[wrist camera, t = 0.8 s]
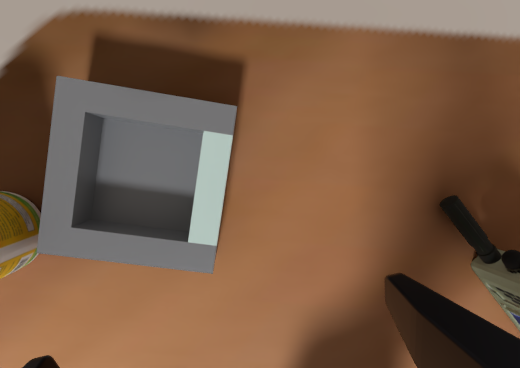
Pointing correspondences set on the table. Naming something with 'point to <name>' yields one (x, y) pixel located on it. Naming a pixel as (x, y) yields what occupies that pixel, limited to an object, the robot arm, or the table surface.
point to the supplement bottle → (17, 232)
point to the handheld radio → (489, 260)
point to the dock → (135, 176)
